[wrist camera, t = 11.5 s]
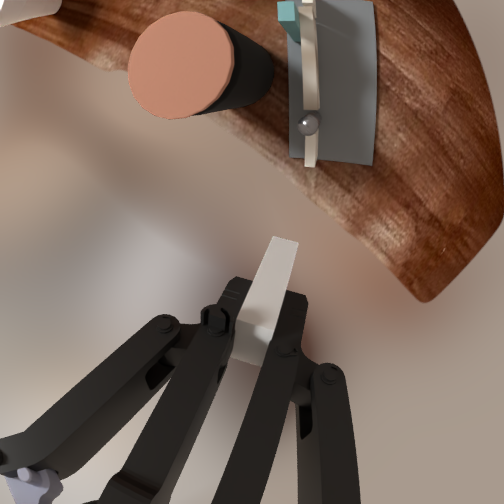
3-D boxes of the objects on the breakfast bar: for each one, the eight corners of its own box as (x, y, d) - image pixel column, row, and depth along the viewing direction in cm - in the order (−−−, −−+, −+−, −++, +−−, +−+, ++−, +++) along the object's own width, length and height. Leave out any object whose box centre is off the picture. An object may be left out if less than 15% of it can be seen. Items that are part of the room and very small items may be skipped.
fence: (306, -4, 24) (300, -22, 18) (315, -4, 23) (310, -22, 18) (309, 154, 37) (304, 166, 31) (317, 155, 36) (314, 167, 31)
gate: (319, 108, 32) (317, 110, 27) (308, 107, 33) (303, 109, 27) (315, 21, 25) (311, 6, 20) (304, 21, 26) (298, 6, 20)
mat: (285, -2, 25) (285, -4, 24) (372, 3, 22) (372, 1, 21) (289, 156, 38) (289, 157, 38) (371, 164, 35) (372, 165, 35)
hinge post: (307, 110, 34) (297, 115, 24) (321, 111, 33) (317, 117, 24) (307, 124, 35) (297, 135, 25) (321, 125, 34) (317, 136, 25)
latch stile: (293, 27, 27) (277, 1, 18) (305, 28, 27) (293, 1, 17) (294, 42, 29) (278, 21, 19) (306, 42, 28) (294, 20, 19)
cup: (67, -21, 23) (6, -23, 9) (72, 3, 28) (6, 3, 13) (42, 7, 28) (-15, 12, 13) (47, 32, 32) (-15, 41, 17)
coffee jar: (268, 33, 29) (219, -6, 14) (282, 100, 34) (243, 104, 20) (199, 51, 32) (119, 38, 18) (212, 113, 38) (139, 132, 23)
